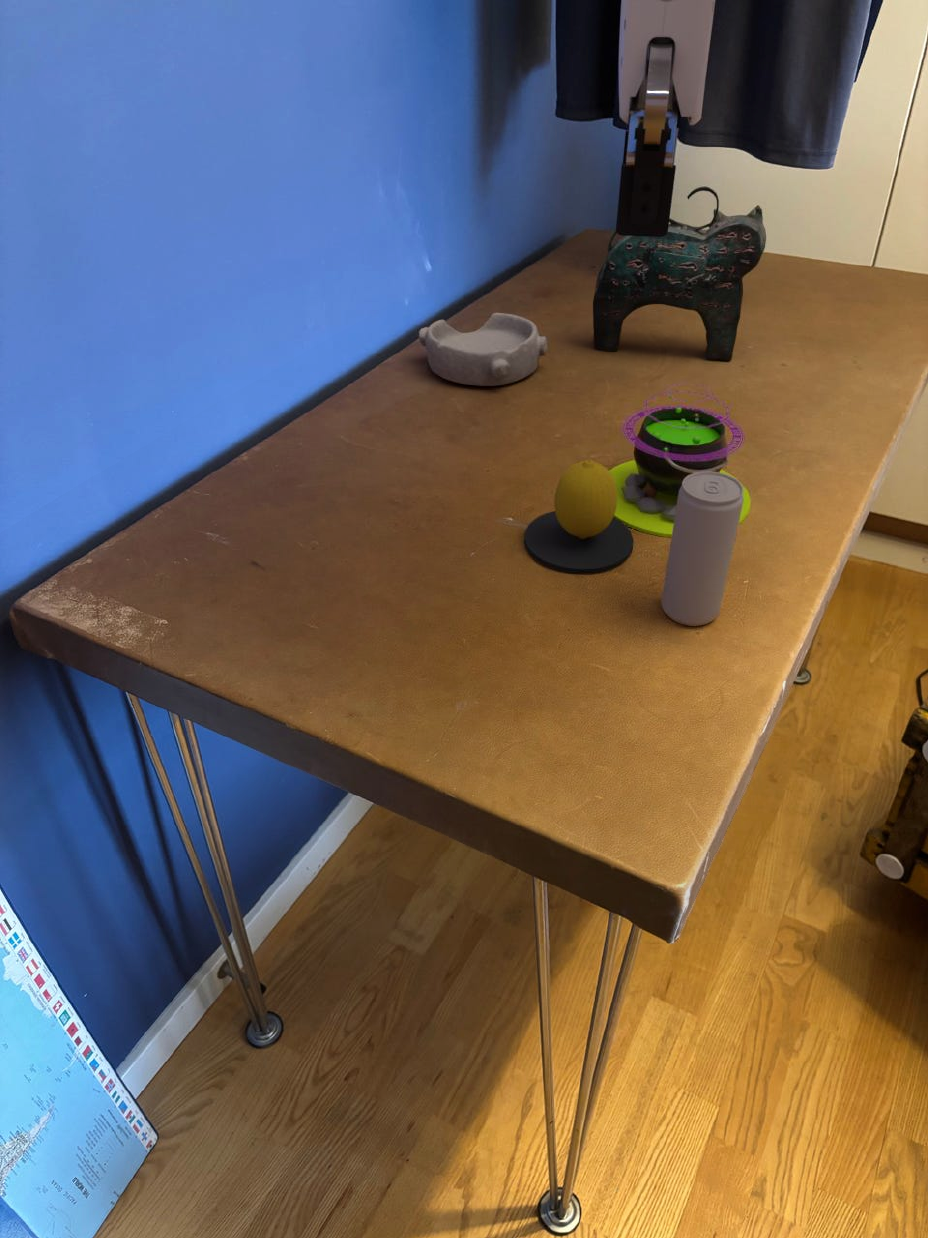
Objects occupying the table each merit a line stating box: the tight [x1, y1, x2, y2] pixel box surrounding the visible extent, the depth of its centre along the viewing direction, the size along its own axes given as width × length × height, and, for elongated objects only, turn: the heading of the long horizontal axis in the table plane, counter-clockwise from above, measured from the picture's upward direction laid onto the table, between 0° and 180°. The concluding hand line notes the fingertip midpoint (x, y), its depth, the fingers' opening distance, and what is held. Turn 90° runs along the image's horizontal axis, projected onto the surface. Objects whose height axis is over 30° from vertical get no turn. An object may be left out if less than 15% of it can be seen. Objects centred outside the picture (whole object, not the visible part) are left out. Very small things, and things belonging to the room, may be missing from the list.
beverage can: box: [661, 471, 744, 627], centre depth 72 cm, size 5×5×12 cm
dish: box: [418, 312, 548, 387], centre depth 113 cm, size 14×14×5 cm
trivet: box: [523, 510, 634, 575], centre depth 84 cm, size 10×10×1 cm
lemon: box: [553, 459, 617, 539], centre depth 81 cm, size 6×6×8 cm
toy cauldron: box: [608, 382, 751, 538], centre depth 87 cm, size 15×15×11 cm
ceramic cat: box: [592, 186, 767, 362], centre depth 112 cm, size 20×6×20 cm, turn 76°
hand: (642, 213), depth 61 cm, fingers open, 9 cm apart
